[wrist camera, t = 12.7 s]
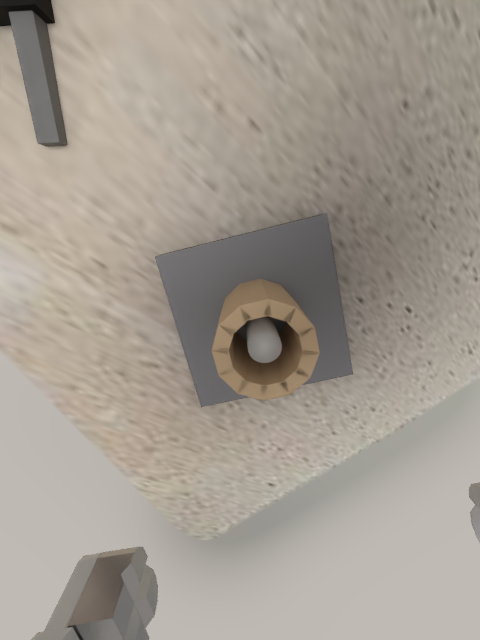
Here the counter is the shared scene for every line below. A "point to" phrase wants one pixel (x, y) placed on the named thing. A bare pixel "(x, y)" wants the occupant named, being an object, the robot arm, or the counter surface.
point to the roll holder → (247, 265)
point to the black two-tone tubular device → (36, 65)
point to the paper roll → (294, 336)
